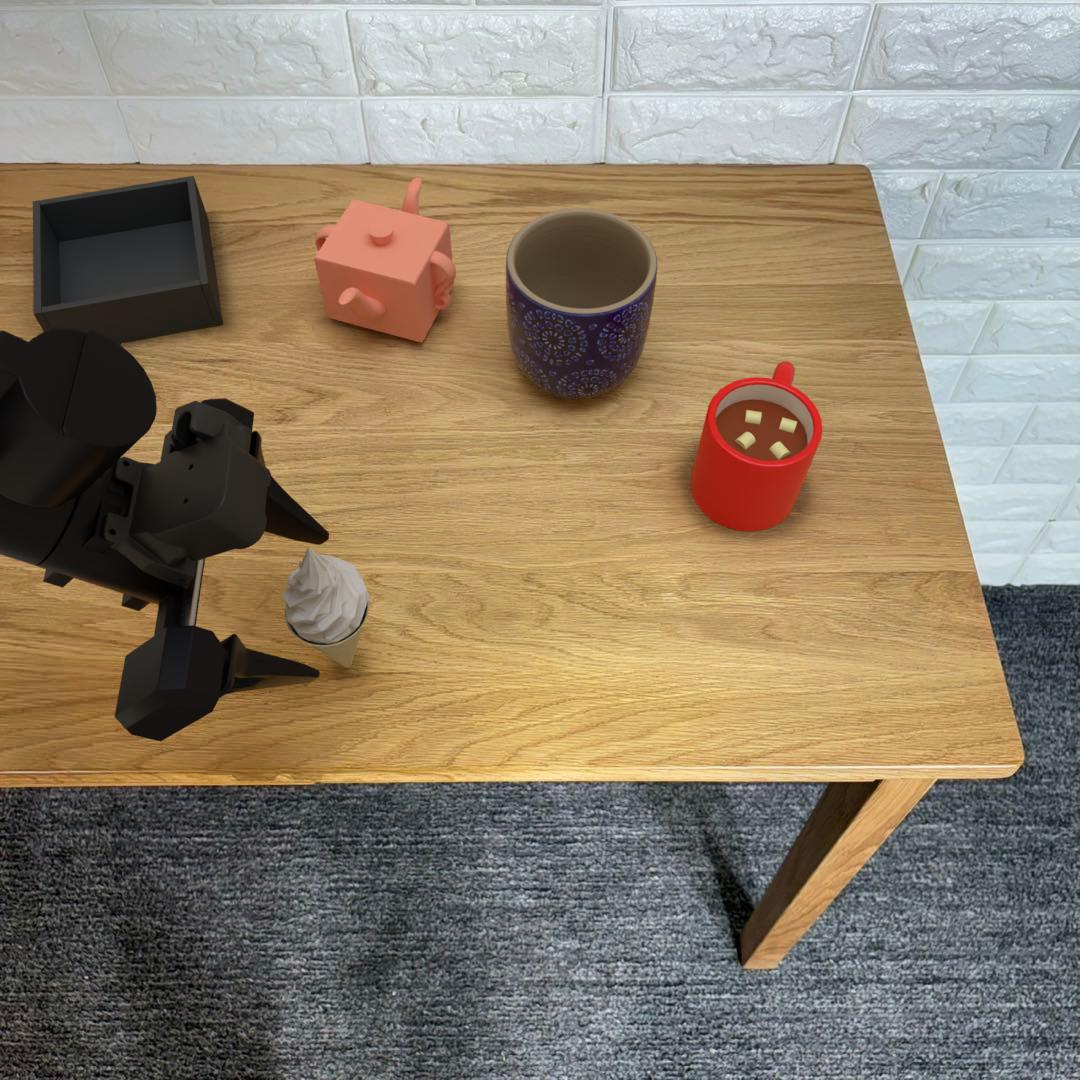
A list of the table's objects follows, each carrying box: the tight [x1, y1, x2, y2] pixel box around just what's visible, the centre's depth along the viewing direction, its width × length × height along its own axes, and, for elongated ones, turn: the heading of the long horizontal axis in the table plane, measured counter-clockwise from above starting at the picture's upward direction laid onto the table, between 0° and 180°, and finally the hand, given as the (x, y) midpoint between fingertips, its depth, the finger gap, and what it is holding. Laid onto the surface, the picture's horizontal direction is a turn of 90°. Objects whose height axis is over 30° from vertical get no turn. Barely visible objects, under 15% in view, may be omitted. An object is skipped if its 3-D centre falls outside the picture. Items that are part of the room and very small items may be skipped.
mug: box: [690, 360, 824, 532], centre depth 72 cm, size 8×12×8 cm, turn 160°
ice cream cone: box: [281, 546, 371, 669], centre depth 60 cm, size 5×5×15 cm
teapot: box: [313, 177, 457, 343], centre depth 80 cm, size 12×15×8 cm
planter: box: [505, 207, 658, 400], centre depth 76 cm, size 11×11×11 cm
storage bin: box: [32, 175, 224, 344], centre depth 83 cm, size 13×13×5 cm
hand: (320, 605), depth 59 cm, fingers open, 9 cm apart
